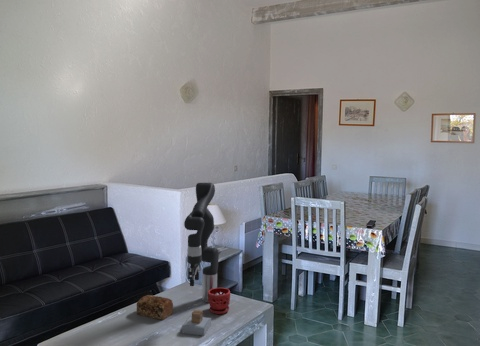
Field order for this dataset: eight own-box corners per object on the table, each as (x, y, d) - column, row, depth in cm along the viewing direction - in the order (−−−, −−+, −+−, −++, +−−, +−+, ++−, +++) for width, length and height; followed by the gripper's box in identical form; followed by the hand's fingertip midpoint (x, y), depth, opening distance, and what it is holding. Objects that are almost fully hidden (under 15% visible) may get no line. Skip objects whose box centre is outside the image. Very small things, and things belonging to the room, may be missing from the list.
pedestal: (190, 322, 213) (190, 315, 213) (211, 325, 211) (211, 317, 211) (182, 332, 202) (182, 324, 201) (204, 335, 199) (204, 327, 199)
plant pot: (231, 306, 235) (231, 287, 235) (228, 316, 222) (228, 295, 222) (209, 305, 237) (210, 286, 236) (205, 314, 224) (206, 294, 223)
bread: (173, 314, 224) (173, 297, 223) (162, 321, 214) (162, 304, 213) (147, 307, 232) (147, 291, 231) (135, 314, 222) (135, 297, 221)
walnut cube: (194, 318, 209) (194, 309, 208) (202, 319, 208) (202, 310, 207) (191, 322, 204) (191, 313, 204) (199, 323, 203) (199, 314, 203)
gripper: (191, 249, 216) (191, 277, 218) (183, 257, 202) (183, 287, 204) (204, 250, 215) (204, 278, 217) (197, 258, 201) (197, 288, 203)
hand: (194, 282), depth 210 cm, fingers open, 8 cm apart
